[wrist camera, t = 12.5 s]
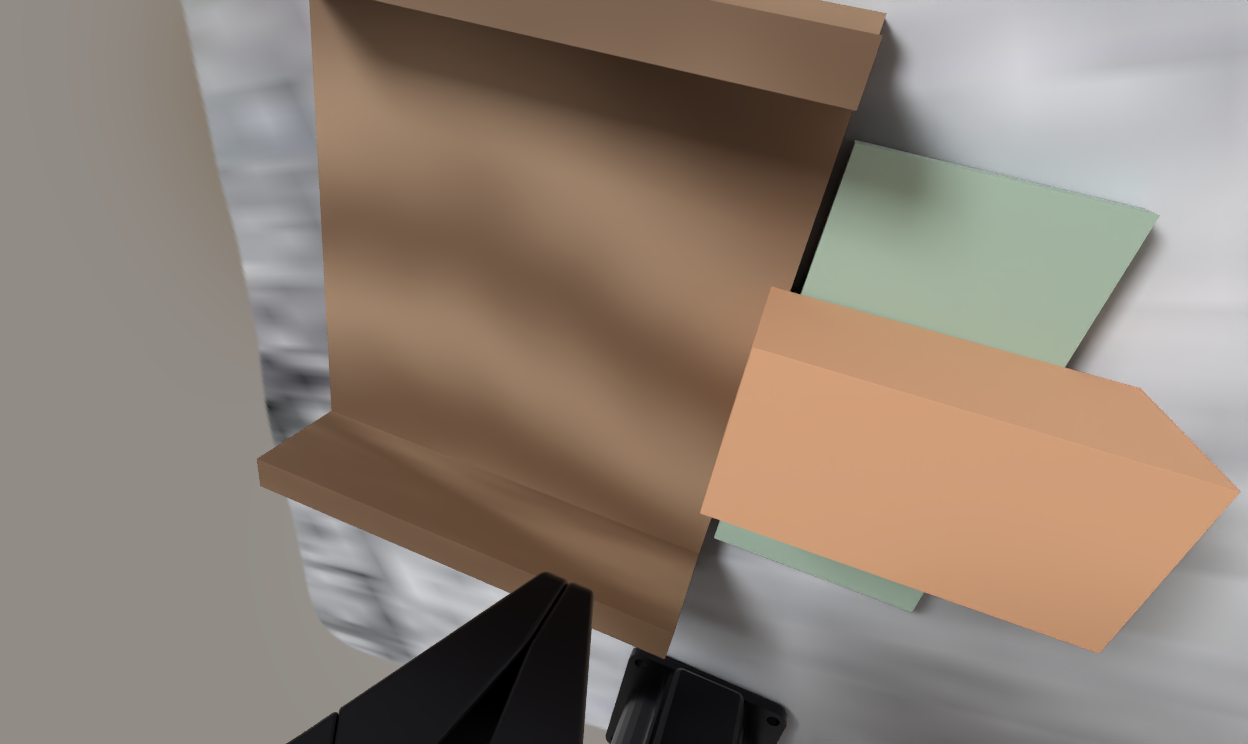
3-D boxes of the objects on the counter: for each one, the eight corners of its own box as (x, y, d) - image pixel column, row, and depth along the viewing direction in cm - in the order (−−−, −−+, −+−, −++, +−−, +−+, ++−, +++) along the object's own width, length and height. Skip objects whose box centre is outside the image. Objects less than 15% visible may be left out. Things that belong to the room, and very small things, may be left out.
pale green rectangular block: (718, 522, 21) (909, 594, 20) (713, 538, 20) (911, 612, 19) (854, 139, 15) (1144, 208, 14) (855, 142, 14) (1159, 215, 13)
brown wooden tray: (692, 570, 23) (660, 671, 19) (350, 435, 25) (262, 498, 22) (884, 17, 14) (896, -6, 10) (331, -92, 17) (177, -143, 13)
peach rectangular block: (1042, 529, 17) (1099, 653, 13) (726, 427, 18) (699, 513, 15) (1140, 388, 15) (1240, 491, 11) (771, 286, 16) (753, 347, 13)
